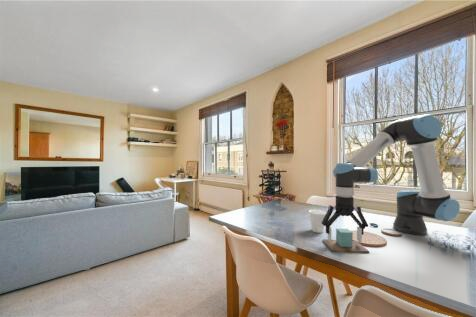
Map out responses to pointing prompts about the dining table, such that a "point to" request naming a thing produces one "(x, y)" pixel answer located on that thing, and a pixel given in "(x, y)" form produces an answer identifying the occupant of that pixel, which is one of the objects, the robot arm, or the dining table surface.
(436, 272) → the dining table surface
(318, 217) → the cup
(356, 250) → the dark wooden tray
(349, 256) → the dining table surface
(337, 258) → the dining table surface
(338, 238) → the teal block
